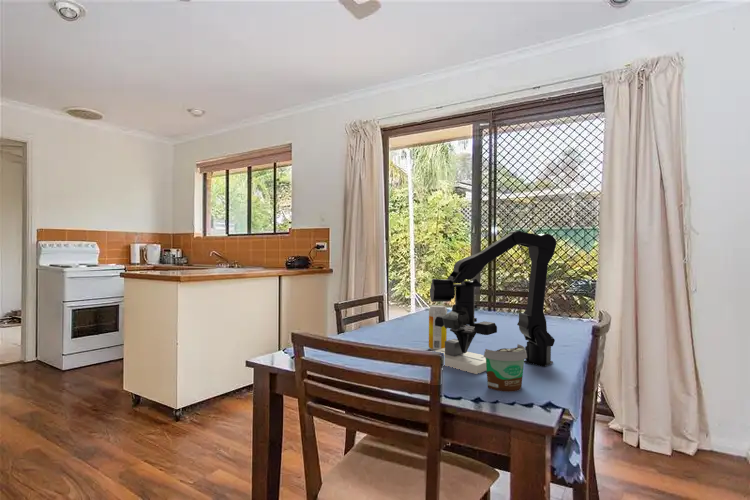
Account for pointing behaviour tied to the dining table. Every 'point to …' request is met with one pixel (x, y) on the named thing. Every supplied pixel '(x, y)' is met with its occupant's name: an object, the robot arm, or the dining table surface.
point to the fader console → (466, 361)
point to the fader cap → (453, 347)
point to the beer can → (436, 328)
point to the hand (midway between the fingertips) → (464, 352)
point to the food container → (505, 368)
